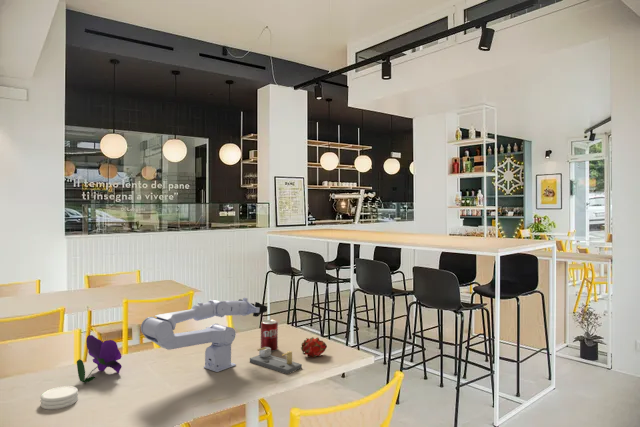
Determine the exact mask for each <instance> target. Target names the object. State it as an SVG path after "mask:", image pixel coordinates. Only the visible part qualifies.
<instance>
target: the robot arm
mask: <svg viewBox="0 0 640 427" xmlns="http://www.w3.org/2000/svg"><path fill="white" fill-rule="evenodd" d="M267 311H268V306H266V305H263V304H261V303H260V302H257V301H255V302H254V303H252V302H250V301H248V298H247V297H243V298H242V299H241V298H240V299H238V300H217V299H209V300H208V301H207V302H201V301H200V302H197V303H196V304H193V306H192V307H191V309H186V310H177V311H172V312H165V313H160V314H156V315H154V316H148V317H145V319H143V320H142V322H141V324H140V331H141V333H142V335H143V336H144V338H145V339H147V340H149V341H151V342H152V343H154V344H156V345H158V346H159V347H161V348H162V349H165V350H168V351H170V350H174V349H175V350H177V349H182V348H186V347H192V346H198V345H203V344H204V345H205V344H210V345H209V346H208V347H206V348H205V353H204V366H203V368H205V369H207V370H210V371H213V372H215V373H219V372H221V371H224V370H227V369H230V368H232V367H235V366H236V365H237V364H236V363H234V362H232V344H233V342H234V340H235V338H236V336H237V335H236V334H237V333H236V330H235V328H233V327H230V326H225V325H223V324H222V325H221V324H220V323H213V324H211V325H210V326H206V327H205V328H203V329H197V330H191V331H185V332H175V333H174V330H176V326H177V324H179V323H183V322H185V321H188V320H192V319H193V320H194V321H196V322H197V321H202V320H203V321H204V320H206V319H211V318H213V317H218V318H224V317H225V316H230V317H231V316H243V317H246V316H249V315H251V314H252V317H255V318H256V317H259V316H261V314H265V313H267Z"/></svg>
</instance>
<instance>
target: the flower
mask: <svg viewBox="0 0 640 427" xmlns="http://www.w3.org/2000/svg"><path fill="white" fill-rule="evenodd" d="M85 344H86V349H87V354H88V355H89V356H90V357H91V358H92V363H94V364H96V365H97V366H96V367H94V369H92V370H91V371H90V372H89V373H88V375H87V376H86V369H85V364H84V362H83V360H81V359H78V360H77V361H76V366H77V367H76V368H77V374H78V379H79V382H81V383H85V384H86V383H89V382H91V381H93V380H95V379H96V378H97V376H94V375H92V376H90V375H91V374H92V372H93V371H95V370H96V369H98V371H99V372H103V371H105V370H106V369H107V368H111V369H113V370H114V371H115V372H116V373H118V374H120V371H121V369H122V365H121V363H120V362H118V360H121V359H122V353H121V351H120V349H119V347H118V344H117V342H116V340H113V339H109V340H108V339H107V340H104V341H102V340H101V339H99V338H97V337H95V336H94V335H91V334H89V335H87V336H86V343H85Z"/></svg>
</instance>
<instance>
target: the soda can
mask: <svg viewBox="0 0 640 427" xmlns="http://www.w3.org/2000/svg"><path fill="white" fill-rule="evenodd" d="M278 332H279V327H278V321H277V320H274V319H267V320H262V321H261V323H260V348H263V347H269V348H271V353H272V352H275V351H277V350H278V348H279V347H278V346H279V345H278V342H279V340H278V334H279V333H278Z"/></svg>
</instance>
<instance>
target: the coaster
mask: <svg viewBox="0 0 640 427" xmlns="http://www.w3.org/2000/svg"><path fill="white" fill-rule="evenodd" d="M78 392H79V390H78V387H76V386H71V385H65V386H64V385H63V386H62V385H61V386H57V387H53V388H50V389H48V390H45V391H44V392H43V393H42V394H41V395H40V407H41V409H44V410H52V411H53V410H59V409H64V408H67V407H68V408H69V407H70V406H72V405H73V404H74V405H75V403H77V402H78V399H79V393H78Z"/></svg>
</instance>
